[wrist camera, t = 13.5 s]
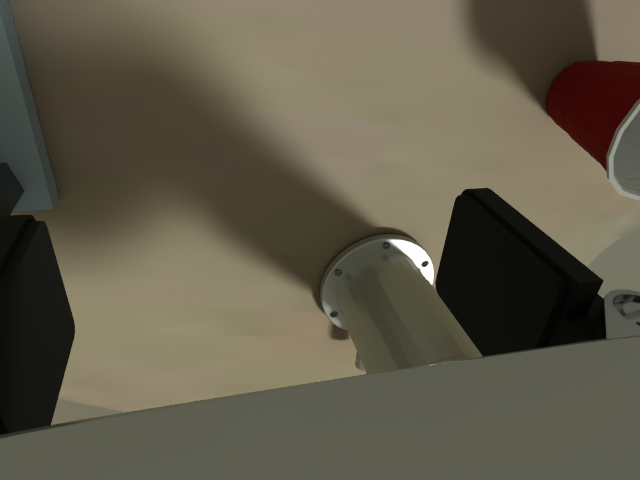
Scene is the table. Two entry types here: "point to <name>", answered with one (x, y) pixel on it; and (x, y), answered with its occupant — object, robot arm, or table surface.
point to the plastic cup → (602, 116)
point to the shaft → (8, 190)
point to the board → (22, 125)
